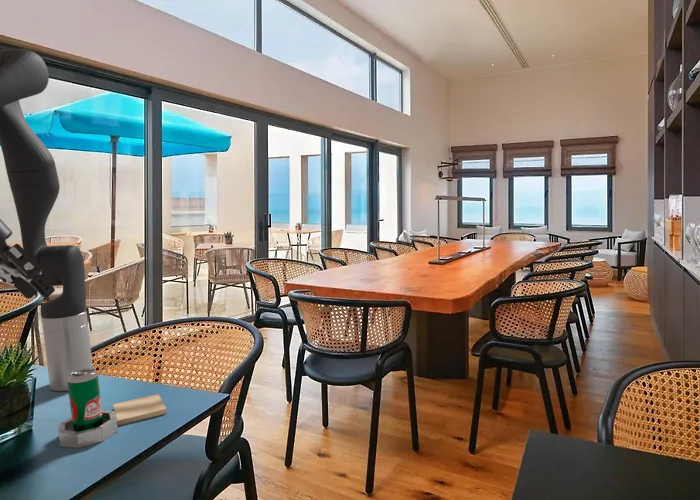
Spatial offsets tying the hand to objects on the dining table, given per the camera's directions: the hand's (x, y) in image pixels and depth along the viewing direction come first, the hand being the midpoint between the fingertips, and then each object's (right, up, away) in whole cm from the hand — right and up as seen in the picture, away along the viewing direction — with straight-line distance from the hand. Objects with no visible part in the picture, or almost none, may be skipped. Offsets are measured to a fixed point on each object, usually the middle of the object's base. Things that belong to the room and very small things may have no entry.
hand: (41, 295), depth 91 cm
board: (+14, -25, +11) cm, 30 cm away
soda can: (+8, -26, +2) cm, 28 cm away
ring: (+8, -26, +2) cm, 27 cm away
